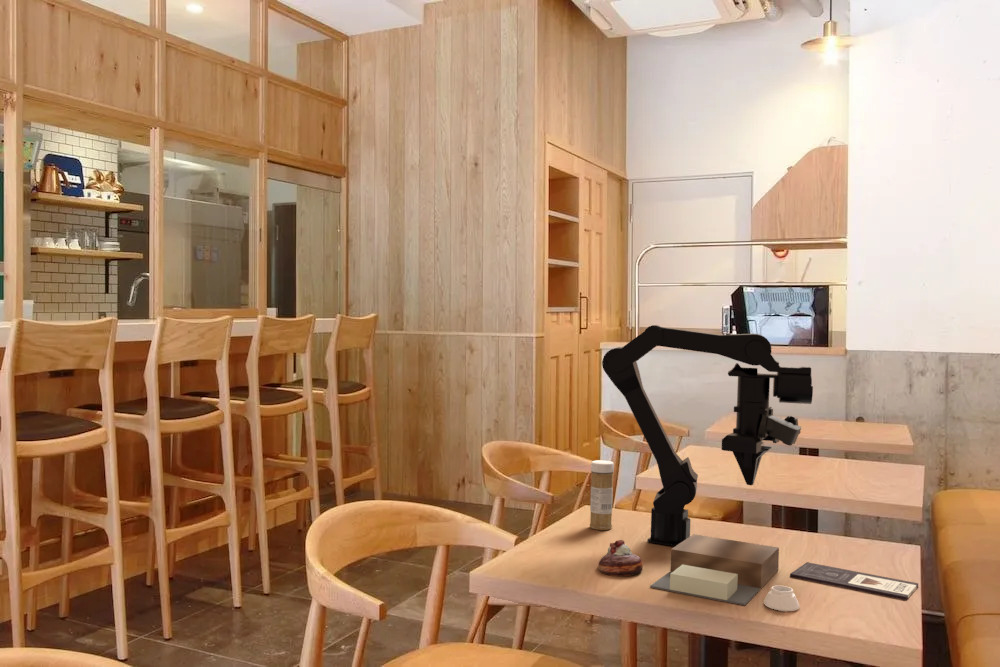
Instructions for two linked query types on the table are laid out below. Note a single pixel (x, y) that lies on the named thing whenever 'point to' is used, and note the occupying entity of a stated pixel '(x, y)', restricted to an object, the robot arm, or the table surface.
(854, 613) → the table surface
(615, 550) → the pastry
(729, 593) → the cream block
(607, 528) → the sprinkles bottle
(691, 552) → the wooden block
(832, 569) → the chocolate bar
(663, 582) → the mat
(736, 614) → the table surface
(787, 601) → the lidless jar
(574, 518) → the table surface
